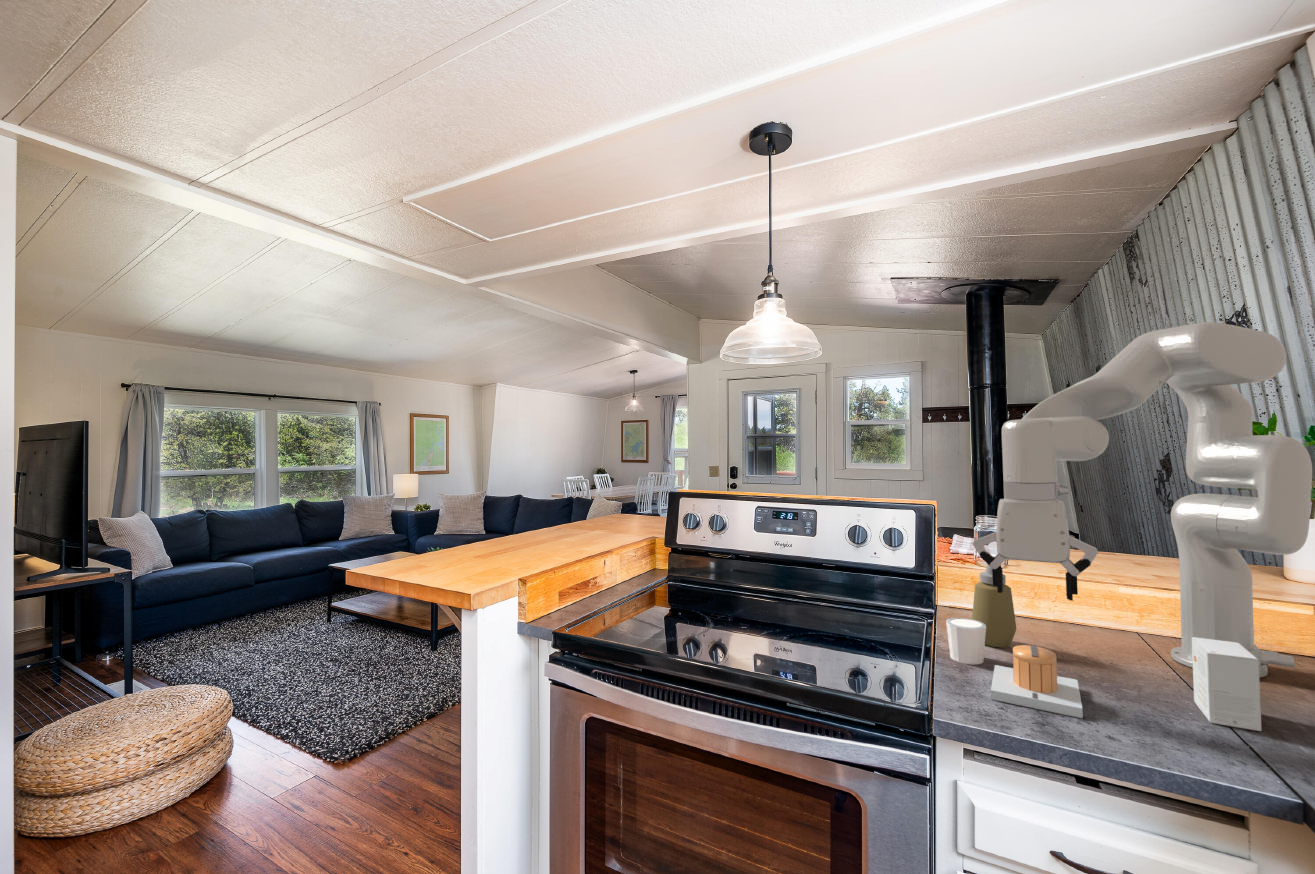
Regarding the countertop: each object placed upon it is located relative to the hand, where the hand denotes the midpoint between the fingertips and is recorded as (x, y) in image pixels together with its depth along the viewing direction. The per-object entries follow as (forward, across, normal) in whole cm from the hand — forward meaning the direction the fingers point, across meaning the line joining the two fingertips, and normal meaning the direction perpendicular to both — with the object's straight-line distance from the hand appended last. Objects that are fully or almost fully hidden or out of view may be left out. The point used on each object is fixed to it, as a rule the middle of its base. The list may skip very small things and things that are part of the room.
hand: (1033, 594), depth 93 cm
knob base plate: (+16, 0, 0) cm, 17 cm away
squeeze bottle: (+17, +7, -23) cm, 29 cm away
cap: (+15, 0, 0) cm, 15 cm away
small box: (+17, -24, -6) cm, 30 cm away
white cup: (+17, +11, -11) cm, 23 cm away
